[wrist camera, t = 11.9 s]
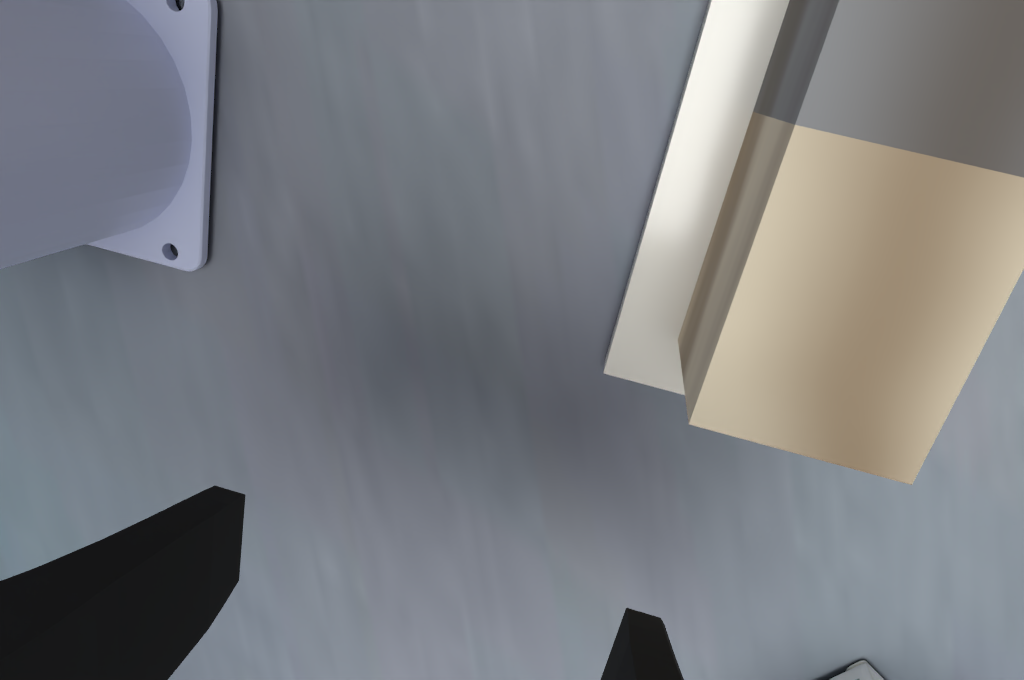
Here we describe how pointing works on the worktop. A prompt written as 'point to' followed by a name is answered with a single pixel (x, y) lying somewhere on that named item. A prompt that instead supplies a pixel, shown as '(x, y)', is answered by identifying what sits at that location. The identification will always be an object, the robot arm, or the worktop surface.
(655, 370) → the tile
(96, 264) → the worktop surface
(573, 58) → the worktop surface
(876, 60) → the capped bar
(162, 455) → the worktop surface
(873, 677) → the syrup box
